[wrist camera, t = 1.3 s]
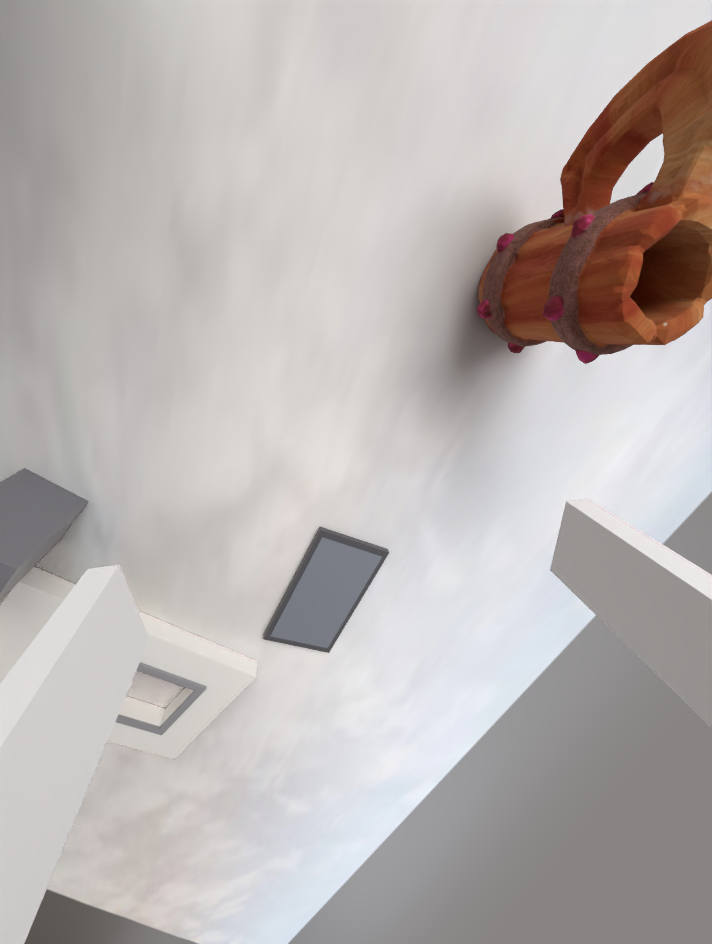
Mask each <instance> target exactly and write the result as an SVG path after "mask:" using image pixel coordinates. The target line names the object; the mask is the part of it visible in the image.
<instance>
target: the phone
mask: <svg viewBox="0 0 712 944" xmlns="http://www.w3.org/2000/svg"><path fill="white" fill-rule="evenodd" d="M388 554H389V551H388V549H386V548H383V547H380V546H377V545H374V544H371V543H368V542H365V541H362V540H359V539H356V538H353V537H349V536H346V535H343V534H340V533H337V532H334V531H331V530H328V529H325V528H322V527H319V529H318V531H317V533H316V535H315V537H314V539H313V541H312V543H311V544H310V546H309V548H308V550H307V552H306V554H305V556H304V558H303V560H302V562H301V564H300V566H299V568H298V569H297V571H296V573H295V575H294V577H293V579H292V581H291V583H290V585H289V587H288V589H287V591H286V592H285V594H284V596H283V598H282V600H281V602H280V604H279V606H278V608H277V610H276V612H275V614H274V616H273V617H272V619H271V621H270V623H269V625H268V627H267V629H266V631H265V633H264V638H263V639H265V640H270V641H275V642H280V643H285V644H290V645H294V646H299V647H304V648H309V649H314V650H319V651H323V652H328V653H329V652H330V650H331V648H332V647H333V645H334V643H335V642H336V640H337V638H338V637H339V635H340V633H341V632H342V630H343V628H344V627H345V625H346V623H347V622H348V620H349V618H350V617H351V615H352V613H353V612H354V610H355V608H356V607H357V605H358V603H359V602H360V600H361V598H362V597H363V595H364V593H365V592H366V590H367V589H368V587H369V585H370V584H371V582H372V580H373V579H374V577H375V575H376V574H377V572H378V570H379V569H380V567H381V565H382V564H383V562H384V560H385V559H386V557H387V555H388Z"/></svg>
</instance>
